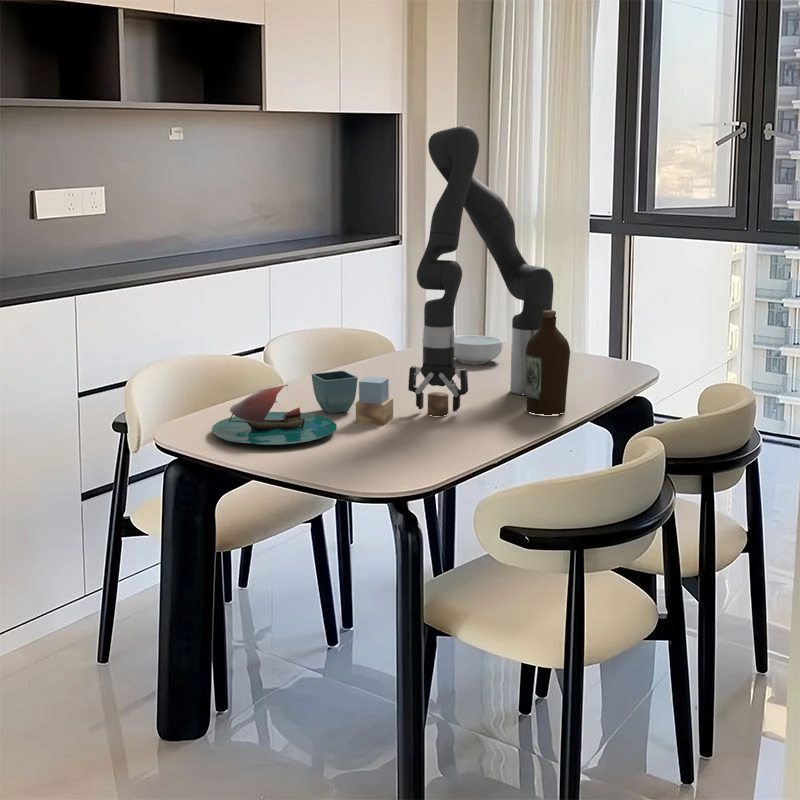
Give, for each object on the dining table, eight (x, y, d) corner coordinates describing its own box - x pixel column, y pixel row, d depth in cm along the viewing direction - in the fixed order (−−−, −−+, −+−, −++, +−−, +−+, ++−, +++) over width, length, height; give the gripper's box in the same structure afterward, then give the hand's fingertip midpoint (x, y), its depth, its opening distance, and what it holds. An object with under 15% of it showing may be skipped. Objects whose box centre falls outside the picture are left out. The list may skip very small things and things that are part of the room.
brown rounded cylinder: (450, 412, 268) (450, 392, 267) (445, 417, 264) (445, 397, 262) (430, 411, 270) (430, 391, 268) (425, 416, 265) (425, 396, 264)
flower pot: (325, 417, 264) (325, 380, 262) (311, 409, 271) (310, 373, 269) (358, 413, 268) (358, 377, 265) (343, 405, 275) (343, 370, 273)
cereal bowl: (504, 368, 320) (504, 344, 319) (446, 367, 321) (447, 343, 319) (499, 357, 337) (500, 334, 335) (445, 356, 337) (445, 333, 335)
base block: (393, 418, 263) (393, 398, 262) (384, 425, 256) (384, 405, 255) (365, 416, 265) (365, 396, 264) (355, 423, 258) (355, 402, 257)
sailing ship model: (199, 425, 256) (197, 378, 253) (313, 414, 266) (312, 369, 264) (230, 457, 231) (228, 405, 228) (354, 443, 241) (354, 393, 239)
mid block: (388, 398, 261) (388, 378, 260) (381, 404, 256) (381, 383, 255) (366, 397, 263) (366, 376, 262) (359, 402, 258) (359, 381, 257)
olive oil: (553, 405, 276) (556, 306, 270) (575, 415, 266) (580, 312, 260) (515, 409, 272) (518, 309, 266) (537, 419, 262) (541, 315, 256)
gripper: (471, 342, 264) (469, 408, 268) (413, 339, 268) (413, 404, 272) (464, 348, 257) (463, 415, 261) (405, 345, 261) (405, 411, 265)
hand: (437, 409), depth 266 cm, fingers open, 8 cm apart
